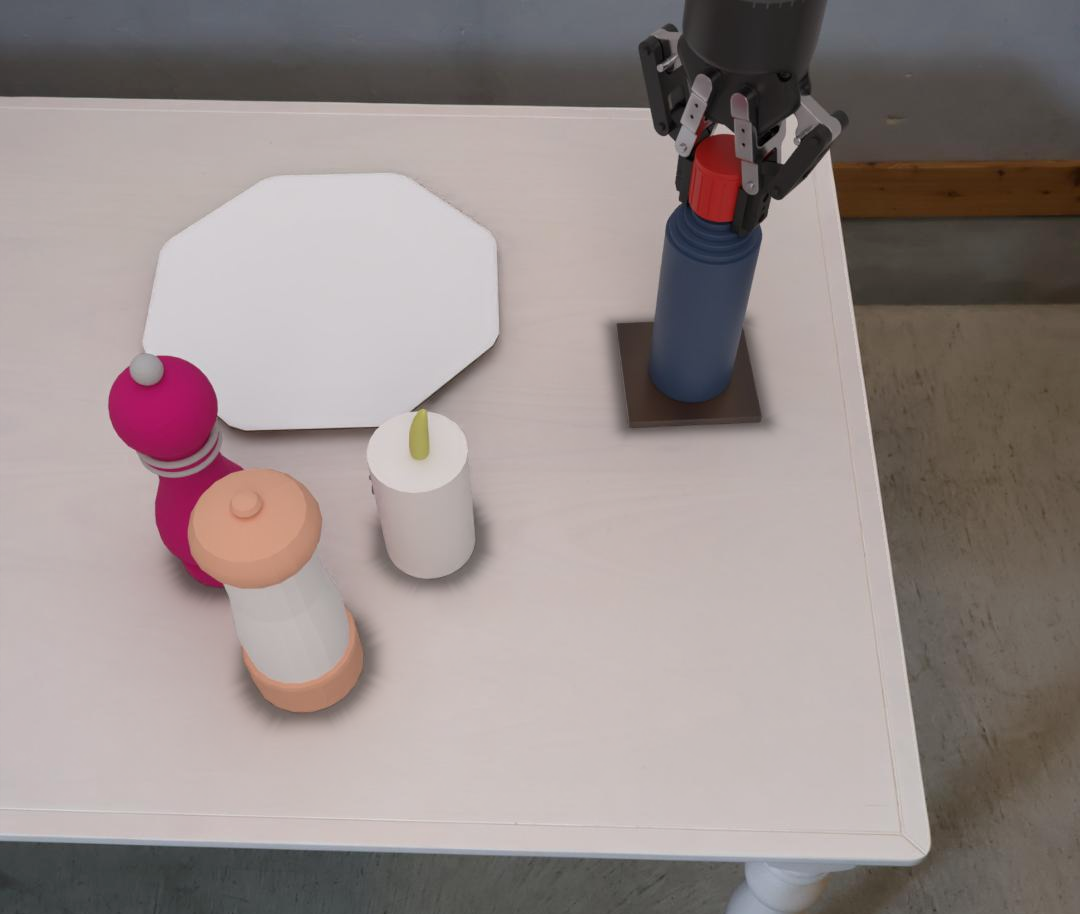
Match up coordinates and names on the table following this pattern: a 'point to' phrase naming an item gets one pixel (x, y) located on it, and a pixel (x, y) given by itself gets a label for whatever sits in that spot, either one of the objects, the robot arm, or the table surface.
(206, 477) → the pepper mill
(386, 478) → the candle
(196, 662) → the table surface
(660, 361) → the bottle
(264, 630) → the pepper shaker
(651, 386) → the coaster
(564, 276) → the table surface
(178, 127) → the table surface
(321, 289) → the plate
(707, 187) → the cap
